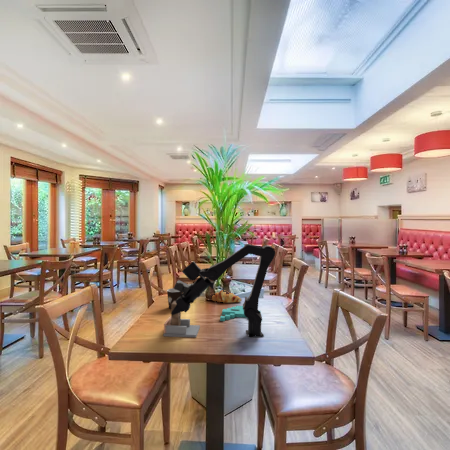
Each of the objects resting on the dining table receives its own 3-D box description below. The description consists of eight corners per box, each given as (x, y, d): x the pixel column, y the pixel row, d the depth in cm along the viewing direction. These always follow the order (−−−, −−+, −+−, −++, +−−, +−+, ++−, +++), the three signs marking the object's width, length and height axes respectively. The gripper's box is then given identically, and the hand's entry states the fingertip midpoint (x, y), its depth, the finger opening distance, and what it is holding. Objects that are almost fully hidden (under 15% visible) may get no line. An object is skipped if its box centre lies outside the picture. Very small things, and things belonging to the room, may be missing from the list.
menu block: (180, 325, 129) (180, 300, 128) (178, 329, 124) (178, 304, 123) (173, 324, 129) (174, 300, 129) (171, 329, 124) (171, 304, 124)
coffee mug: (165, 306, 162) (165, 288, 161) (180, 304, 165) (180, 287, 165) (170, 312, 151) (170, 294, 151) (185, 310, 155) (186, 292, 154)
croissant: (242, 307, 174) (243, 294, 178) (240, 303, 165) (241, 289, 169) (208, 303, 179) (210, 290, 182) (205, 300, 170) (207, 286, 173)
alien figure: (261, 324, 138) (260, 310, 158) (261, 319, 138) (260, 306, 158) (220, 321, 140) (224, 309, 160) (220, 317, 140) (224, 305, 160)
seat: (199, 327, 131) (200, 316, 131) (196, 337, 120) (196, 325, 120) (169, 326, 132) (169, 315, 132) (163, 336, 121) (163, 324, 121)
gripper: (189, 270, 135) (165, 293, 136) (180, 279, 116) (154, 305, 117) (205, 287, 135) (182, 310, 135) (199, 299, 116) (172, 325, 117)
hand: (173, 312), depth 126 cm, fingers closed on menu block, 5 cm apart
